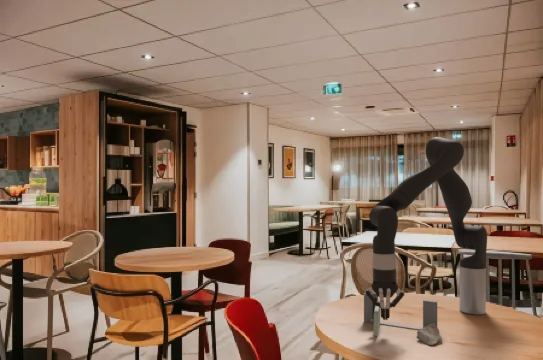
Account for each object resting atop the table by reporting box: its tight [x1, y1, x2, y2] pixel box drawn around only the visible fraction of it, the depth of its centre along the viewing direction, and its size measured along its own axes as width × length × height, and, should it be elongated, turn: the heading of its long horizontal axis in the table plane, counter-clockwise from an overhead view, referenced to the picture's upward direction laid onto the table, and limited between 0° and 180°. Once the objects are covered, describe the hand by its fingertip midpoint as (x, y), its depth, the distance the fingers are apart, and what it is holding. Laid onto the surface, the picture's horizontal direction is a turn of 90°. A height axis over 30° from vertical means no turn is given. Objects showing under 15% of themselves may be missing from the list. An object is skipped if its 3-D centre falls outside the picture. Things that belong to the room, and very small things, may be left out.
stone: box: [416, 323, 443, 346], centre depth 135 cm, size 6×12×4 cm, turn 133°
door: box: [369, 306, 381, 337], centre depth 143 cm, size 2×14×7 cm, turn 162°
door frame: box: [363, 292, 438, 331], centre depth 147 cm, size 3×24×10 cm, turn 64°
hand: (385, 319), depth 139 cm, fingers closed
